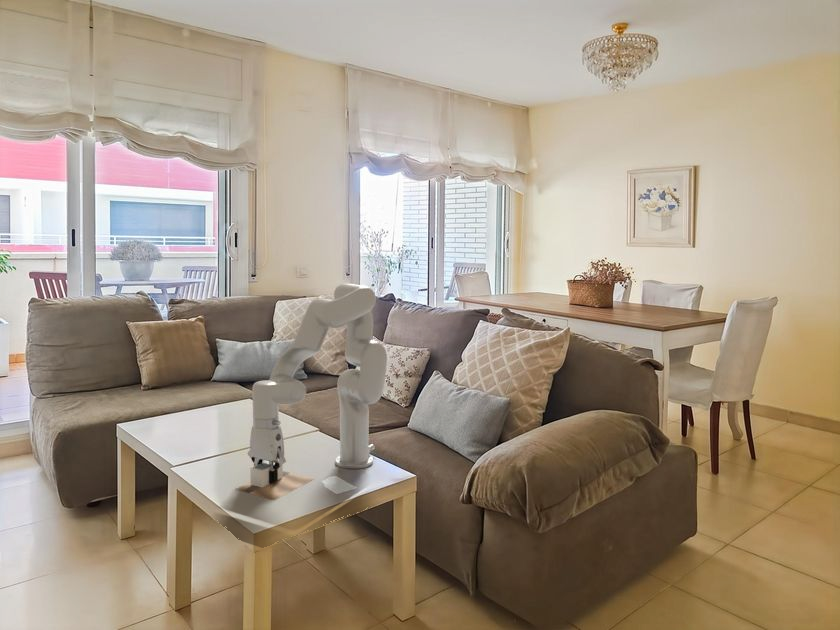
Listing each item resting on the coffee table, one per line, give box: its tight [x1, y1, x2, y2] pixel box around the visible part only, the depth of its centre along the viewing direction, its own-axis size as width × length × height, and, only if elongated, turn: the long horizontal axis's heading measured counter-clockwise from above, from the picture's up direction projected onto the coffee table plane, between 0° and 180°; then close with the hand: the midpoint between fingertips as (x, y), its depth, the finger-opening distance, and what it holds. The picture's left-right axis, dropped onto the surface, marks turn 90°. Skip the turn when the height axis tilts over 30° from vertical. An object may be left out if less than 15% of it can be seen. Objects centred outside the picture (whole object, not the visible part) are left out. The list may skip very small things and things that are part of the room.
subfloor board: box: [235, 470, 315, 501], centre depth 185 cm, size 18×15×1 cm
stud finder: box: [249, 460, 284, 488], centre depth 186 cm, size 9×4×5 cm, turn 151°
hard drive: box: [321, 475, 357, 495], centre depth 186 cm, size 2×8×12 cm
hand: (266, 479), depth 187 cm, fingers closed on stud finder, 4 cm apart
